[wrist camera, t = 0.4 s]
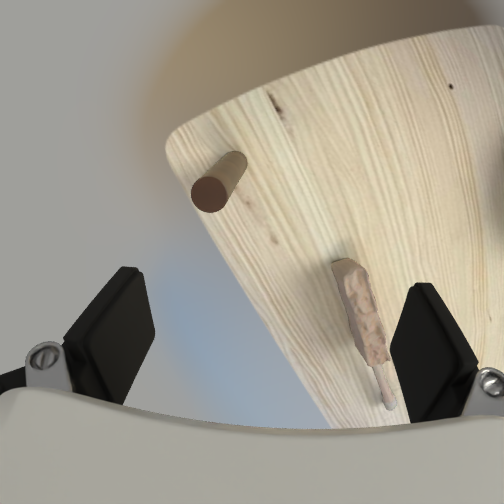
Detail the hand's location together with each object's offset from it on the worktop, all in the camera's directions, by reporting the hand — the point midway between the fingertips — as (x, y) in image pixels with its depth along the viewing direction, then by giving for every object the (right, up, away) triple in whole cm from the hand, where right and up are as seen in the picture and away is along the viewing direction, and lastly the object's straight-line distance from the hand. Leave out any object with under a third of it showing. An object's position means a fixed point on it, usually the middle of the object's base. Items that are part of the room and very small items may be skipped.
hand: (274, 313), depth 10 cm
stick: (-2, +11, +19) cm, 22 cm away
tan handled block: (+16, -10, +27) cm, 33 cm away
